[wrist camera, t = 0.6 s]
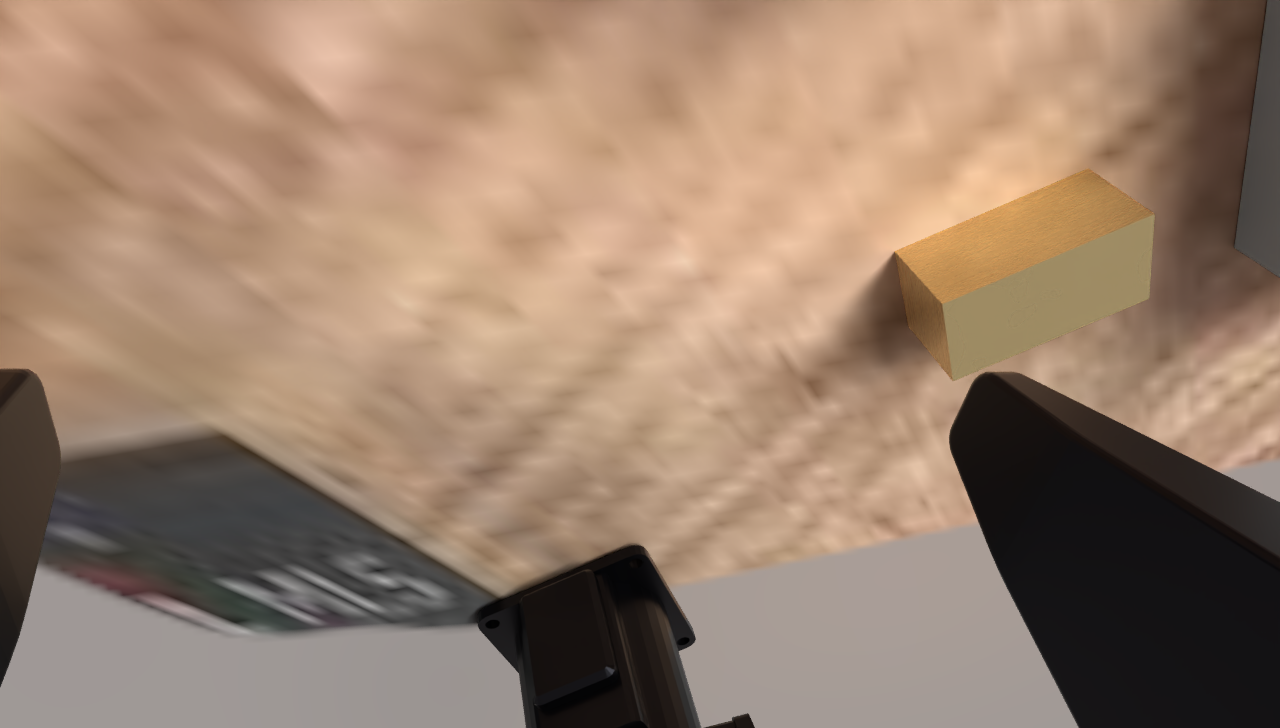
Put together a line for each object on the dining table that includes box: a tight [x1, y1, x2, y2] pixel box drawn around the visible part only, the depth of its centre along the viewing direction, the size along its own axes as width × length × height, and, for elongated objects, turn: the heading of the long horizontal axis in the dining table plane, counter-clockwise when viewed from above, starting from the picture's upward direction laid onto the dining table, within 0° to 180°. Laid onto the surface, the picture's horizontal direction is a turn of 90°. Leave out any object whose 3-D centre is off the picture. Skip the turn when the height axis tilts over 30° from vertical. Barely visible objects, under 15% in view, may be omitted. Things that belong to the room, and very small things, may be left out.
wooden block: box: [895, 169, 1155, 381], centre depth 25 cm, size 3×6×3 cm, turn 109°
